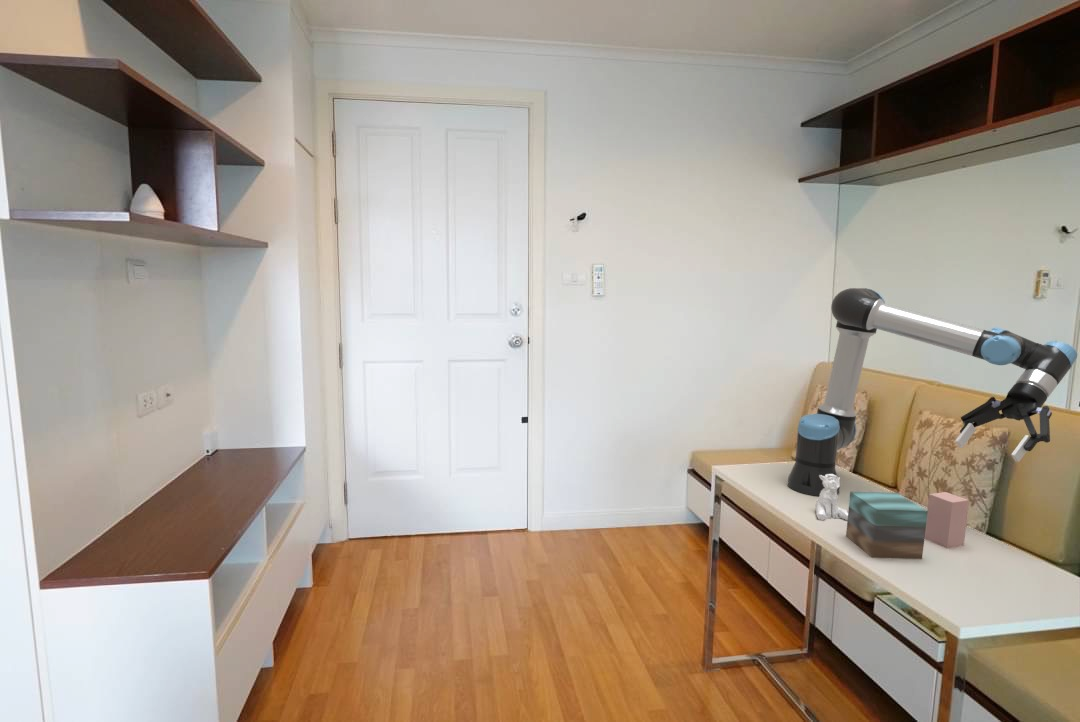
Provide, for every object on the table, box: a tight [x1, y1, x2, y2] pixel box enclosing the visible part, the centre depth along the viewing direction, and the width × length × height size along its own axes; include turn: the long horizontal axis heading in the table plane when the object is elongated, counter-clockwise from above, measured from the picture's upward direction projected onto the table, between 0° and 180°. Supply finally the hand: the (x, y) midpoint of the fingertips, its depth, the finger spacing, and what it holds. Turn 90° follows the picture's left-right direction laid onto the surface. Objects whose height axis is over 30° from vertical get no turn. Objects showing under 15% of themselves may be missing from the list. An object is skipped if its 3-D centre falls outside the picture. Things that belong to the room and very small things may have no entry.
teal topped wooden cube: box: [845, 491, 928, 560], centre depth 143 cm, size 12×12×12 cm
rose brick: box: [924, 491, 970, 549], centre depth 147 cm, size 6×6×12 cm
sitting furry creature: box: [815, 474, 848, 521], centre depth 163 cm, size 10×9×12 cm
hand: (985, 451), depth 147 cm, fingers open, 13 cm apart
